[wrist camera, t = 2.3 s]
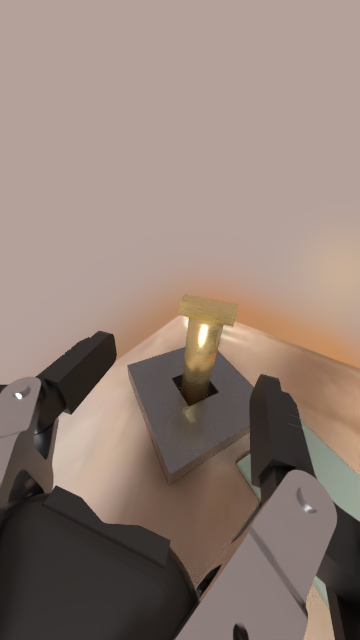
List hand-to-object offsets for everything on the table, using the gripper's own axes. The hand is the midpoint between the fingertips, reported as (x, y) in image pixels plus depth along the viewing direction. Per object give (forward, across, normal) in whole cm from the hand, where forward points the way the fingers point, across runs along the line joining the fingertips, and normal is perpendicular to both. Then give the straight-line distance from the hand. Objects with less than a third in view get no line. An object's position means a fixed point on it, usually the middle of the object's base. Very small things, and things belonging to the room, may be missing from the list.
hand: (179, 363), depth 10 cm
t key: (+12, 0, +19) cm, 22 cm away
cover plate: (+12, 0, +19) cm, 22 cm away
